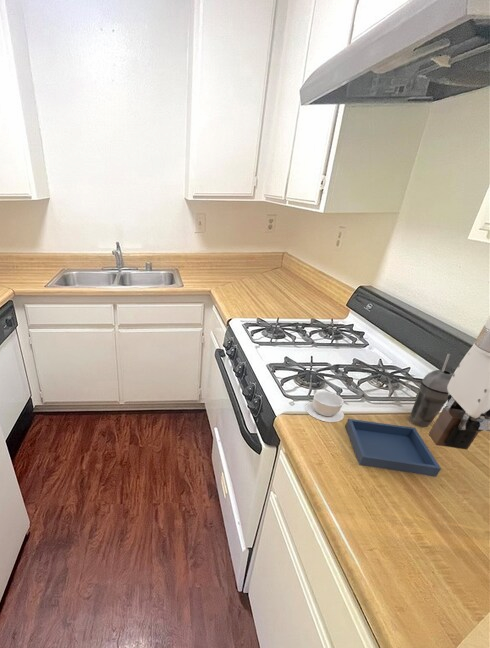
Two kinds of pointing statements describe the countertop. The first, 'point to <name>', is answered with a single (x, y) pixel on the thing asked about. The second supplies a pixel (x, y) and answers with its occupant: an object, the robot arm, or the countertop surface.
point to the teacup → (326, 406)
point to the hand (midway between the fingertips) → (449, 438)
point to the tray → (391, 447)
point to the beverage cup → (431, 396)
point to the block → (447, 426)
